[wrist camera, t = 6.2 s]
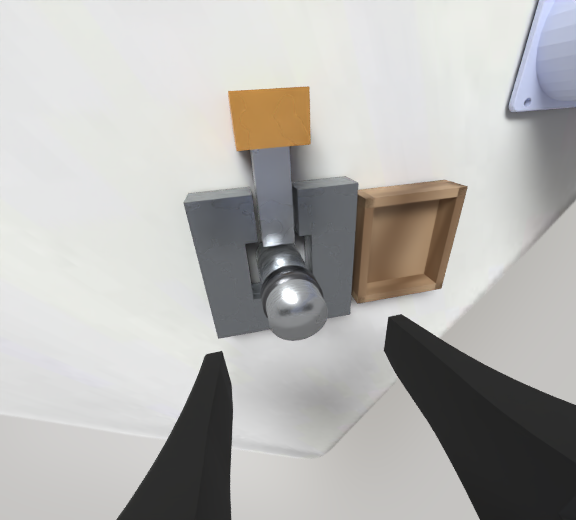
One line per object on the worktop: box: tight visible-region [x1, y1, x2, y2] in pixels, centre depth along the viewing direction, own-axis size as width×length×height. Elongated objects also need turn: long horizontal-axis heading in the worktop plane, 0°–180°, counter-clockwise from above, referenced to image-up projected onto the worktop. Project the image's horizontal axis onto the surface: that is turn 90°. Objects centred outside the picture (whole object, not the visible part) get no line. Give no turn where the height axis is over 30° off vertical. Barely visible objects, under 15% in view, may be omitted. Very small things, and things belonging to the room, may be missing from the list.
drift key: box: [228, 87, 310, 247], centre depth 15 cm, size 8×4×3 cm, turn 4°
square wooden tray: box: [351, 180, 467, 304], centre depth 20 cm, size 7×8×2 cm
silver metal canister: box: [256, 242, 328, 341], centre depth 16 cm, size 3×3×7 cm
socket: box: [184, 176, 358, 339], centre depth 18 cm, size 10×10×2 cm
